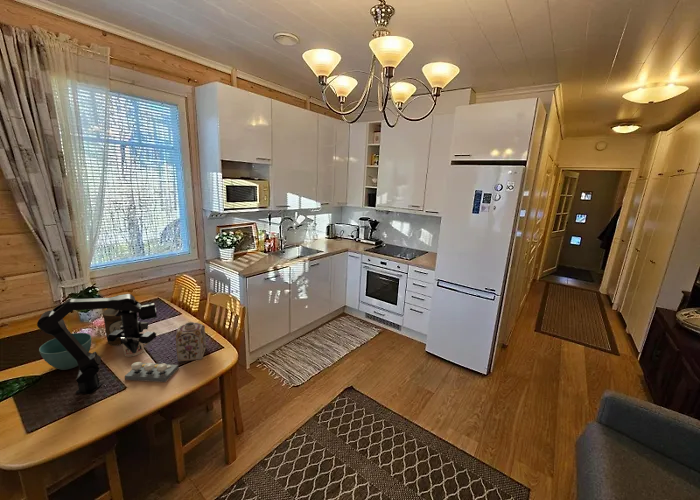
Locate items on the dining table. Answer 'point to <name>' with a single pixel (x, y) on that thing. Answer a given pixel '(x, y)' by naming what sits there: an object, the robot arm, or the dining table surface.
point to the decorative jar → (190, 342)
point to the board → (152, 374)
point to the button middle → (149, 367)
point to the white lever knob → (161, 368)
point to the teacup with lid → (139, 350)
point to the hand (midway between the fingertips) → (134, 352)
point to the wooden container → (112, 325)
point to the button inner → (136, 366)
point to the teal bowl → (63, 352)
